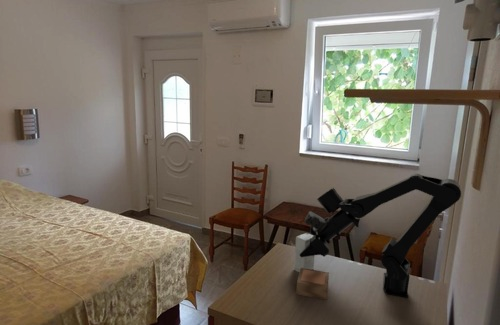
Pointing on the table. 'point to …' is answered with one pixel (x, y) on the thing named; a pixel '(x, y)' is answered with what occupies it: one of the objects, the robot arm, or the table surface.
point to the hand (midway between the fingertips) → (300, 250)
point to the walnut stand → (313, 283)
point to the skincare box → (300, 245)
